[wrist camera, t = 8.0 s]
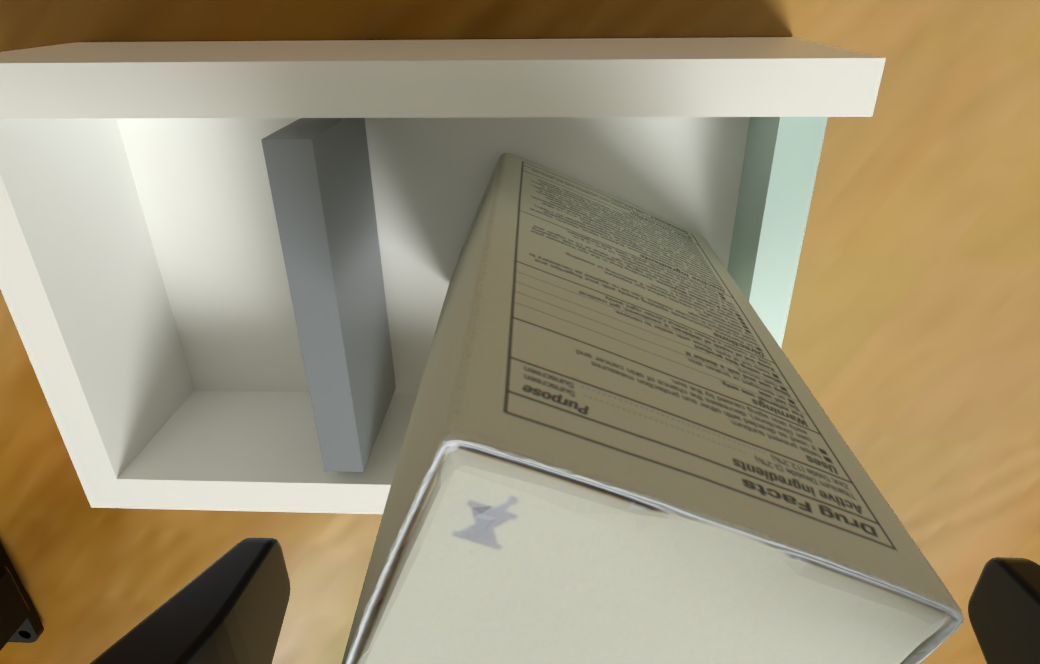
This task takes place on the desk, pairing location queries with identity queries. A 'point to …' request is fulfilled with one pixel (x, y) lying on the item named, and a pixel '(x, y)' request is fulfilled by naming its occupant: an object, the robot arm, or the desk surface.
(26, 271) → the box
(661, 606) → the skincare box
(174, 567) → the desk surface
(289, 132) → the tall grey panel
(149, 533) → the desk surface
